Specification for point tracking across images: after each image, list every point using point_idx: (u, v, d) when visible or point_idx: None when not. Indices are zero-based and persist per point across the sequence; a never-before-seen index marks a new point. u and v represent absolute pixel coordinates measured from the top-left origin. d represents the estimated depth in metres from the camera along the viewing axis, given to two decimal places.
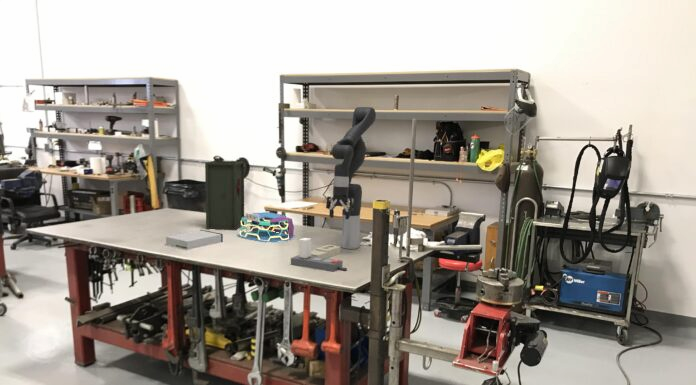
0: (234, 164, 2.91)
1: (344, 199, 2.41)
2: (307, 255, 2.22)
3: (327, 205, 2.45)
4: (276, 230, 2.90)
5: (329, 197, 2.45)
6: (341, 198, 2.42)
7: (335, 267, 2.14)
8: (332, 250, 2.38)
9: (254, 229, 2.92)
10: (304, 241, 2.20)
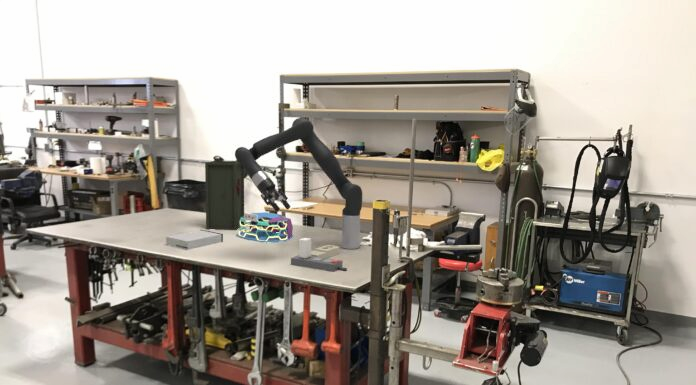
0: (234, 164, 2.91)
1: None
2: (307, 255, 2.22)
3: None
4: (275, 230, 2.90)
5: None
6: None
7: (335, 267, 2.14)
8: (331, 250, 2.38)
9: (253, 229, 2.92)
10: (304, 241, 2.20)
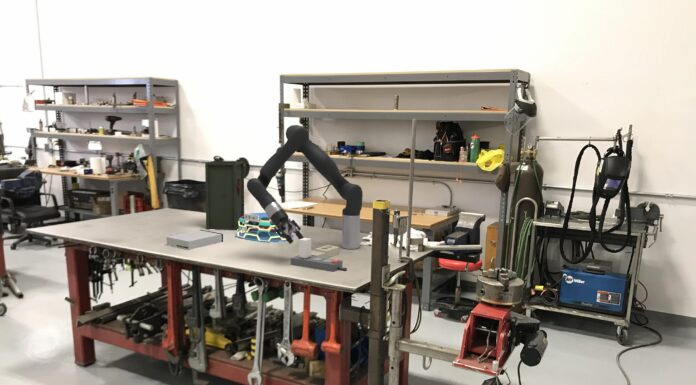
0: (234, 164, 2.91)
1: None
2: (307, 255, 2.22)
3: None
4: (273, 230, 2.90)
5: None
6: None
7: (335, 267, 2.14)
8: (331, 250, 2.37)
9: (250, 230, 2.91)
10: (304, 241, 2.20)
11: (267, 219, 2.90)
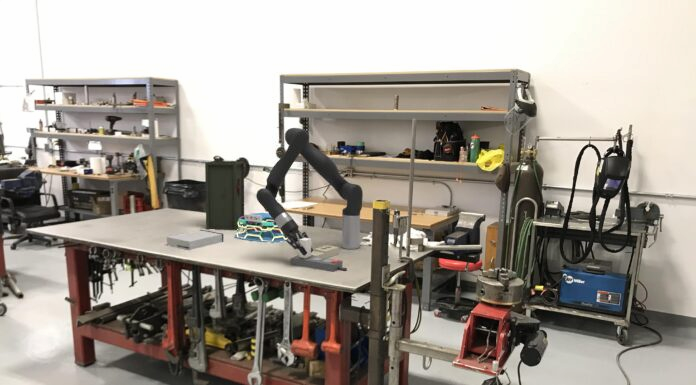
0: (234, 164, 2.91)
1: None
2: (307, 255, 2.22)
3: None
4: (270, 230, 2.90)
5: None
6: None
7: (335, 267, 2.14)
8: (330, 251, 2.37)
9: (247, 230, 2.88)
10: (304, 241, 2.20)
11: (264, 219, 2.89)
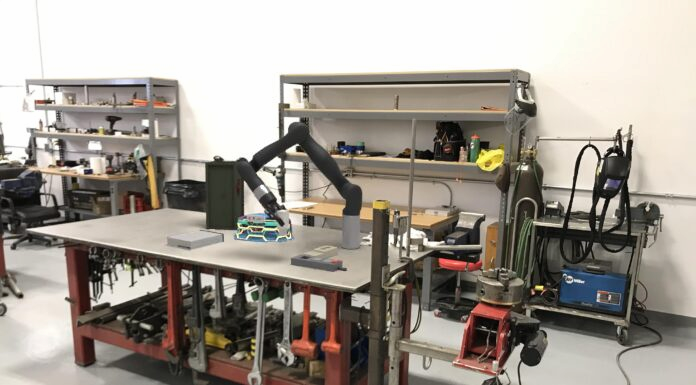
0: (234, 164, 2.91)
1: None
2: (285, 226, 2.25)
3: None
4: (267, 230, 2.89)
5: None
6: None
7: (335, 267, 2.14)
8: (329, 251, 2.36)
9: (243, 231, 2.85)
10: (282, 212, 2.24)
11: None
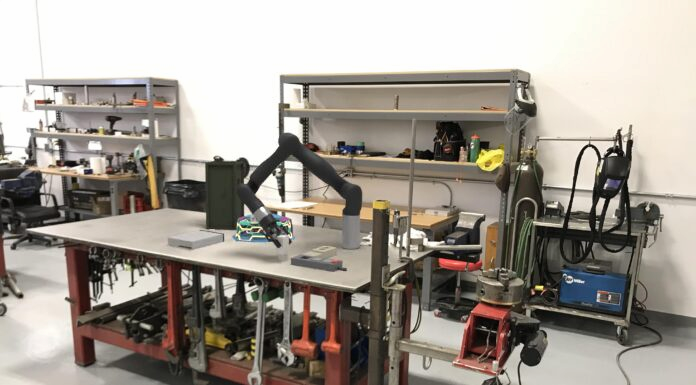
0: (234, 164, 2.91)
1: None
2: (284, 252, 2.27)
3: None
4: None
5: None
6: None
7: (335, 267, 2.14)
8: (328, 251, 2.36)
9: (240, 233, 2.81)
10: (281, 238, 2.25)
11: None
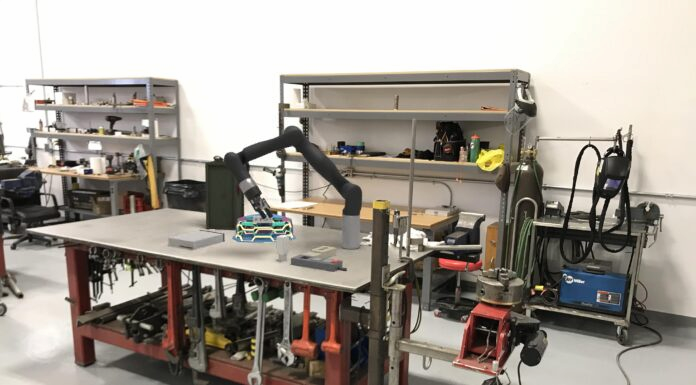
0: None
1: None
2: (284, 252, 2.27)
3: None
4: (261, 231, 2.87)
5: None
6: None
7: (335, 267, 2.14)
8: (327, 251, 2.35)
9: (239, 233, 2.79)
10: (281, 238, 2.25)
11: None
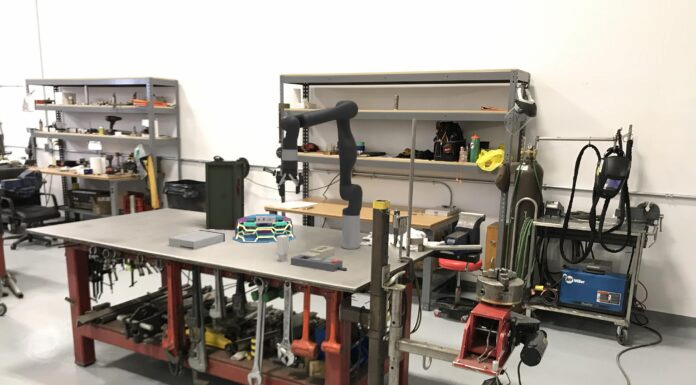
0: (234, 164, 2.91)
1: (293, 173, 2.32)
2: (284, 252, 2.27)
3: (277, 180, 2.37)
4: (259, 231, 2.85)
5: (279, 171, 2.36)
6: (290, 172, 2.33)
7: (335, 267, 2.14)
8: (326, 251, 2.36)
9: (238, 234, 2.77)
10: (281, 238, 2.25)
11: (252, 221, 2.83)
